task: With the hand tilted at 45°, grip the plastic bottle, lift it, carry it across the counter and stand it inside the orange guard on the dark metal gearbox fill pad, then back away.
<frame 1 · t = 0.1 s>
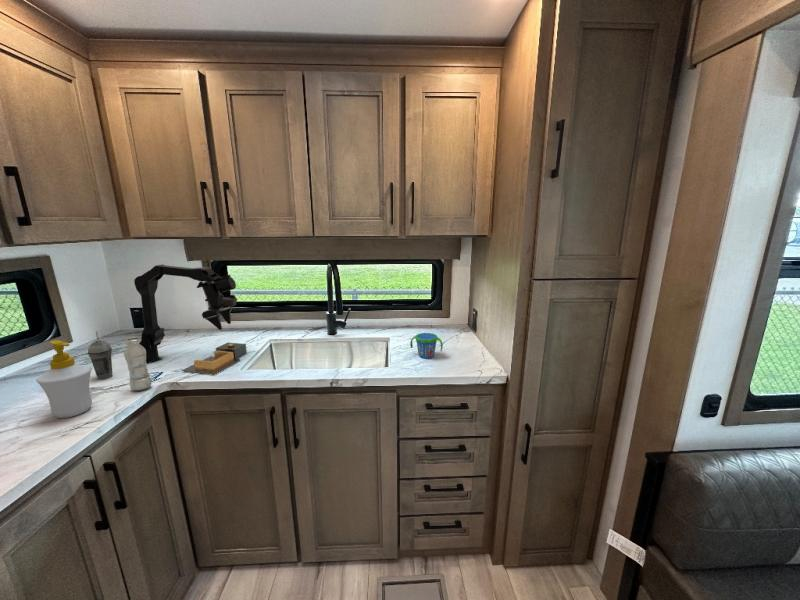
hand: (225, 326, 151), 15 cm above the worktop, tool pointing down, fingers open, 9 cm apart
soap bottle: (73, 412, 109), on the worktop
plastic bottle: (141, 389, 124), on the worktop
snack cup: (426, 356, 158), on the worktop
beverage cup: (105, 377, 134), on the worktop
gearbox: (212, 366, 145), on the worktop
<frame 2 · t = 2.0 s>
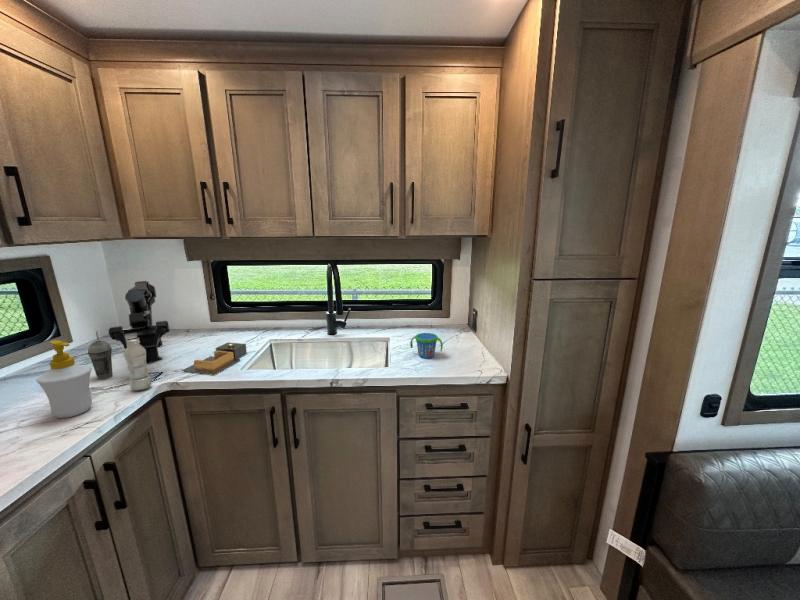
hand: (141, 348, 128), 13 cm above the worktop, tool tilted 45°, fingers open, 9 cm apart
nothing on the worktop moved.
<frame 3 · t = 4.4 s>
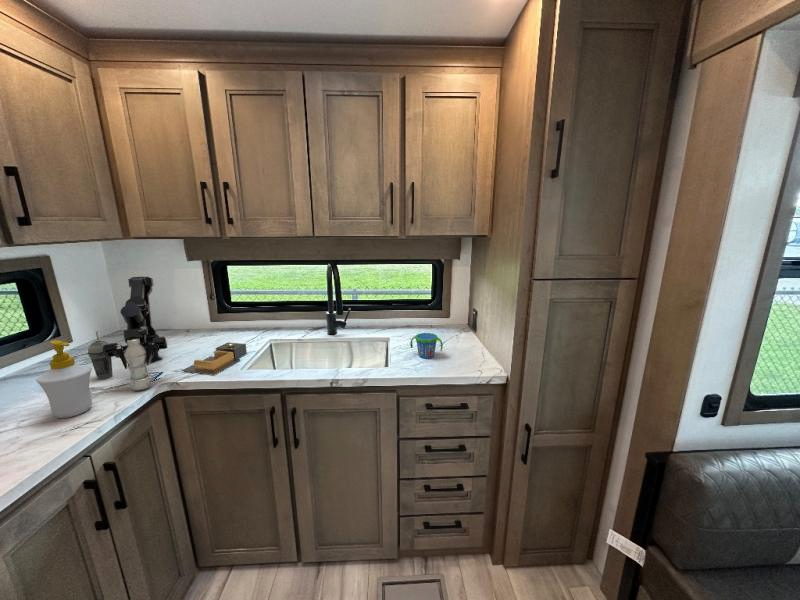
hand: (136, 366, 121), 10 cm above the worktop, tool tilted 45°, fingers closed on plastic bottle, 6 cm apart
plastic bottle: (141, 389, 124), on the worktop, touching gripper
everything else where it was.
when the fingers open (11 cm above the worktop, at t = 9.6 s): plastic bottle stays where it is, resting on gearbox.
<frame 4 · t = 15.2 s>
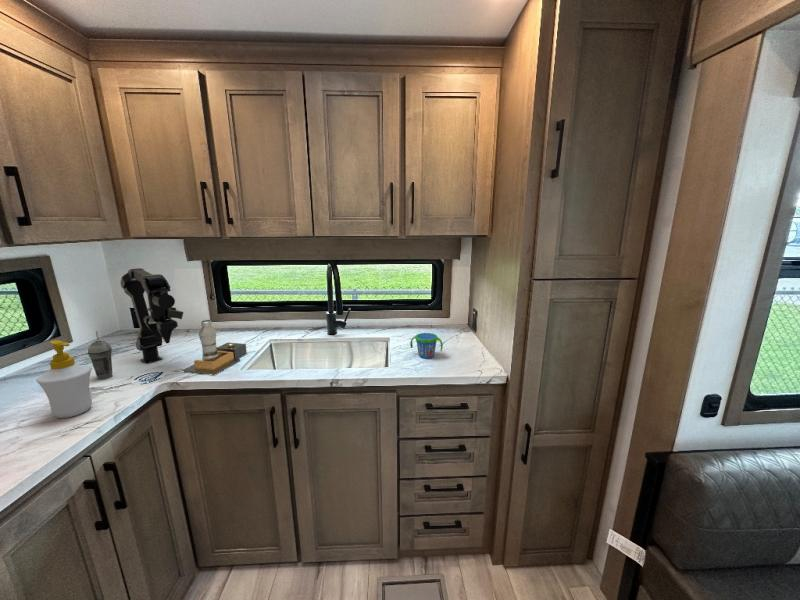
hand: (163, 341, 139), 13 cm above the worktop, tool pointing down, fingers open, 9 cm apart
plastic bottle: (211, 364, 145), point 1 cm above the worktop, touching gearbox
everything else where it was.
at the end: plastic bottle inside the target area on the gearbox (0.2 cm from its centre), point 0.6 cm above the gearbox's base; plastic bottle tilted 0°; the gripper is holding nothing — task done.
